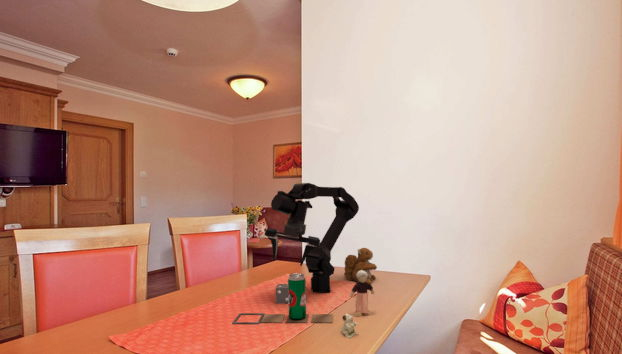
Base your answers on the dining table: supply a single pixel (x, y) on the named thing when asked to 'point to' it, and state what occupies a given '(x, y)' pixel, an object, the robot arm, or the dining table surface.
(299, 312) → the soda can
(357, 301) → the grandmother figurine
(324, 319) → the game track
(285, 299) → the die
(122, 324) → the dining table surface
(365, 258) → the stuffed squirrel
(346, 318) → the toy dog
